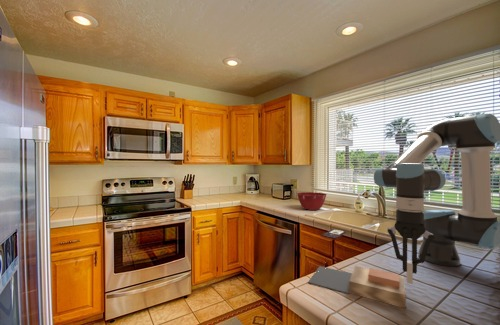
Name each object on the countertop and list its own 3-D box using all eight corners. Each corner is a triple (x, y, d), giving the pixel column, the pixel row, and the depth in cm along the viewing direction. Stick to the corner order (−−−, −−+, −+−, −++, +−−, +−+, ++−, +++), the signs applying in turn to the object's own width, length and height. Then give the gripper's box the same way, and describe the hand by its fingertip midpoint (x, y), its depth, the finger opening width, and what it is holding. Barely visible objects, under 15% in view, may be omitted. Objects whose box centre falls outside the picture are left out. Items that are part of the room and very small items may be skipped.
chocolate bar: (321, 235, 144) (332, 229, 157) (321, 236, 144) (332, 230, 157) (335, 238, 138) (346, 231, 151) (335, 239, 138) (346, 233, 151)
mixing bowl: (291, 209, 230) (291, 193, 230) (305, 205, 252) (305, 191, 252) (319, 213, 212) (319, 196, 212) (330, 208, 233) (330, 193, 234)
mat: (355, 275, 92) (355, 274, 92) (348, 294, 79) (348, 293, 79) (319, 266, 100) (319, 266, 100) (308, 283, 86) (308, 281, 86)
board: (403, 287, 83) (403, 276, 83) (405, 308, 71) (405, 295, 71) (354, 276, 91) (354, 266, 91) (349, 292, 79) (349, 281, 79)
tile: (398, 280, 80) (398, 274, 80) (399, 287, 75) (399, 281, 75) (369, 273, 85) (369, 268, 85) (368, 280, 80) (368, 274, 80)
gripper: (386, 209, 77) (386, 281, 77) (436, 214, 70) (436, 293, 70) (386, 206, 83) (386, 272, 83) (432, 210, 76) (432, 282, 76)
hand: (409, 281), depth 76 cm, fingers closed
